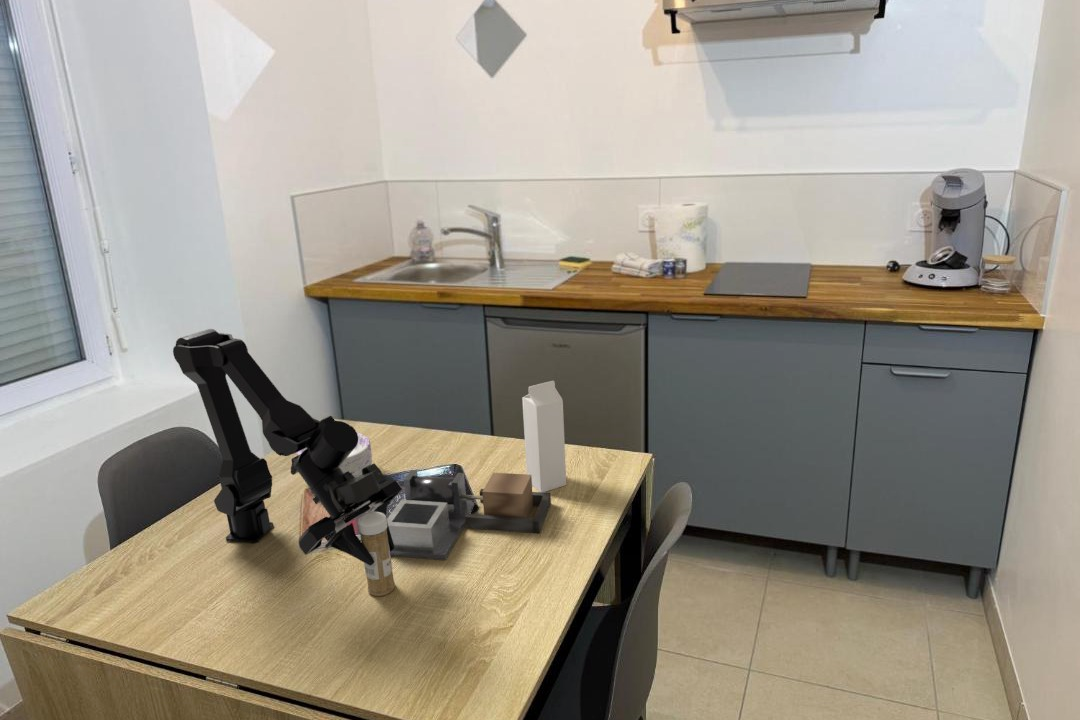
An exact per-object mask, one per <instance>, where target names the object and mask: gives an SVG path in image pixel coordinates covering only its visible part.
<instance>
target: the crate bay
mask: <svg viewBox="0 0 1080 720" xmlns="http://www.w3.org/2000/svg"><path fill="white" fill-rule="evenodd" d="M479 496H483V500H480V501H479V502H480V503H482V505H483V513H484V514H481V513H479V514H478V513H472V514H466V516H465V521H466V525H465V528H466V529H474V530H475V529H476V530H487V531H501V532H504V531H505V532H516V533H526V534H527V533H529V534H541V530H542V528H543V526H544V523H545V521H546V519H547V518H546V517H547V515H548V512H549V509H550V507H551V505H552V498H551V497H552V496H551V493H550V492H540V491H538V492H537V491H533V486H532V477H531V475H528V474H527V473H526V474H524V473H523V474H522V473H509V472H508V473H506V472H492V474H491V476H490V477H489V478H488V481H487V482H486V484H485V486H484V488H481V489H480V490H479ZM534 507H537V509H536V511H535V514H534V516H533V517H530V515H531V514H532V511H533V509H534Z"/></svg>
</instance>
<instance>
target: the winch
mask: <svg viewBox="0 0 1080 720" xmlns="http://www.w3.org/2000/svg"><path fill="white" fill-rule="evenodd" d="M465 481H466V480H465V473H464V472H457V474H456V475H455V476H454V477H437V476H425V475H424V476H422V475H418V470H417V469H410V471H409V473H408V474H406V476H405V477H404V478H403V484H404V485H403V487H404V495H405V499H400V501H399V502H398V504H397V505H396V506H395V508H393V510H392V512H391V513H390V514H389V515H388V517H387V522H388V526H389V530H390V533H391V537H392V540H393V543H394V547H395V549H394V550H393V551H390V556H393V557H394V556H395V557H404V558H415V559H419V558H420V559H428V560H440V561H446V560H447V559H448V556H449V555H450V553H451V551H452V549H453V547H454V546H455V545H456V542H457V540H458V539H459V537H460V535H461V533H462V532H463V530H464V528H465V527H466V521H465V516H466V514H469V513H470V511H471V509H472V507H473V505H474V503H476V504H477V501H476V500H483V496H480V495H473V494H472V495H471V494H467V493H466V492H467V491H466V482H465ZM472 501H474V503H473V502H472Z"/></svg>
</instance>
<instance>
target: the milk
mask: <svg viewBox="0 0 1080 720" xmlns="http://www.w3.org/2000/svg"><path fill="white" fill-rule="evenodd" d="M527 391H528V394H526V395H524V396H523V397H521V399H522V416H523V431H524V432H523V433H524V446H525V447H524V450H525V465H526V474H528V475H531V477H532V488H535V489H536V490H537V491H538V492H543V493H547V492H548V491H549V492H550V491H552V490H555V489H558V488H560V487H564V486H567V471H566V467H567V466H566V447H565V423H564V401H563V397H562V396H561V395H560V393H559V392H558V390H557V388H556V383H555V380H550V381H546V382H541V383H538V384H534V385H531V386H528V390H527Z"/></svg>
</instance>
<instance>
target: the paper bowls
mask: <svg viewBox="0 0 1080 720" xmlns="http://www.w3.org/2000/svg"><path fill="white" fill-rule="evenodd" d="M357 435H358V443H357V445H356V447H355V448H354V450H353V451H352V452H351V453H350V454H349V456H348V457H347V458H346V459H345V460H344V462H343V463H342V464H341V465H340V466H339V467H340V468H341V470H342V471H343V473H346V472H348V471H349V473H351V474H352V475H353V476H354V477H358V476H360V475H362V469H363V468H365V467H367V466H368V465H370V464H373V456H372V455H373V454H372V445H371V440H370V439H369V437H367V435H364V434H362V433H360V432H357ZM306 449H307V447H306V448H304V449H302V450H300V451H298V452H296V456H298V455H300V454H301V453H302V452H303V451H305V450H306Z"/></svg>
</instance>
